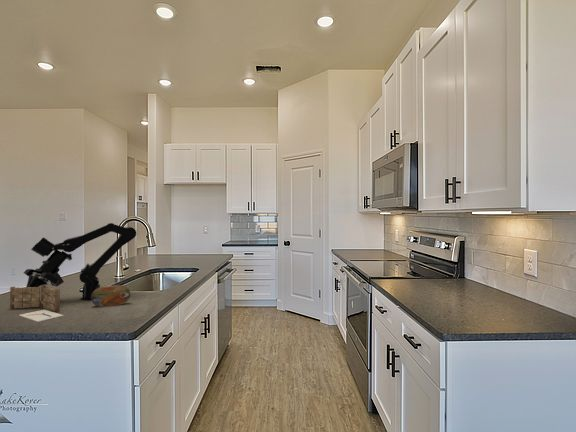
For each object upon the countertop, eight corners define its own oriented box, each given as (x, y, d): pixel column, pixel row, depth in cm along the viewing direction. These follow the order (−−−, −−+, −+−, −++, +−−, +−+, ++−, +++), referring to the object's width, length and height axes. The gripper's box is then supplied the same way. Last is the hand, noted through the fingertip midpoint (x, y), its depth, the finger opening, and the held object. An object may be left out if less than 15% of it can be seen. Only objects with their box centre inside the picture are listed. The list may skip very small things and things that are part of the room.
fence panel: (41, 306, 144) (41, 285, 144) (39, 307, 143) (39, 286, 143) (11, 307, 142) (11, 286, 142) (8, 308, 140) (9, 287, 140)
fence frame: (60, 311, 139) (60, 289, 139) (55, 312, 137) (55, 289, 137) (44, 306, 145) (44, 285, 145) (39, 307, 143) (39, 286, 143)
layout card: (63, 315, 133) (63, 314, 133) (37, 322, 125) (37, 320, 125) (44, 310, 140) (44, 309, 140) (19, 315, 132) (19, 314, 132)
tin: (90, 307, 145) (91, 287, 145) (91, 306, 148) (91, 286, 148) (130, 304, 152) (130, 285, 152) (129, 302, 155) (130, 283, 155)
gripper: (79, 275, 152) (53, 306, 144) (57, 271, 162) (31, 300, 153) (58, 260, 145) (30, 292, 136) (37, 257, 155) (9, 287, 146)
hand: (25, 293), depth 143 cm, fingers closed
